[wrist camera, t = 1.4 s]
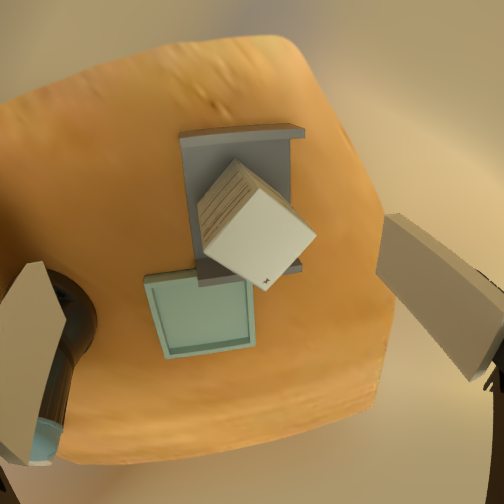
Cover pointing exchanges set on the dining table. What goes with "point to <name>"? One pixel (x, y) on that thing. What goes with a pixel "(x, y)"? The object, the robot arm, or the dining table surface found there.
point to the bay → (217, 160)
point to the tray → (200, 314)
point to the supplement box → (251, 226)
